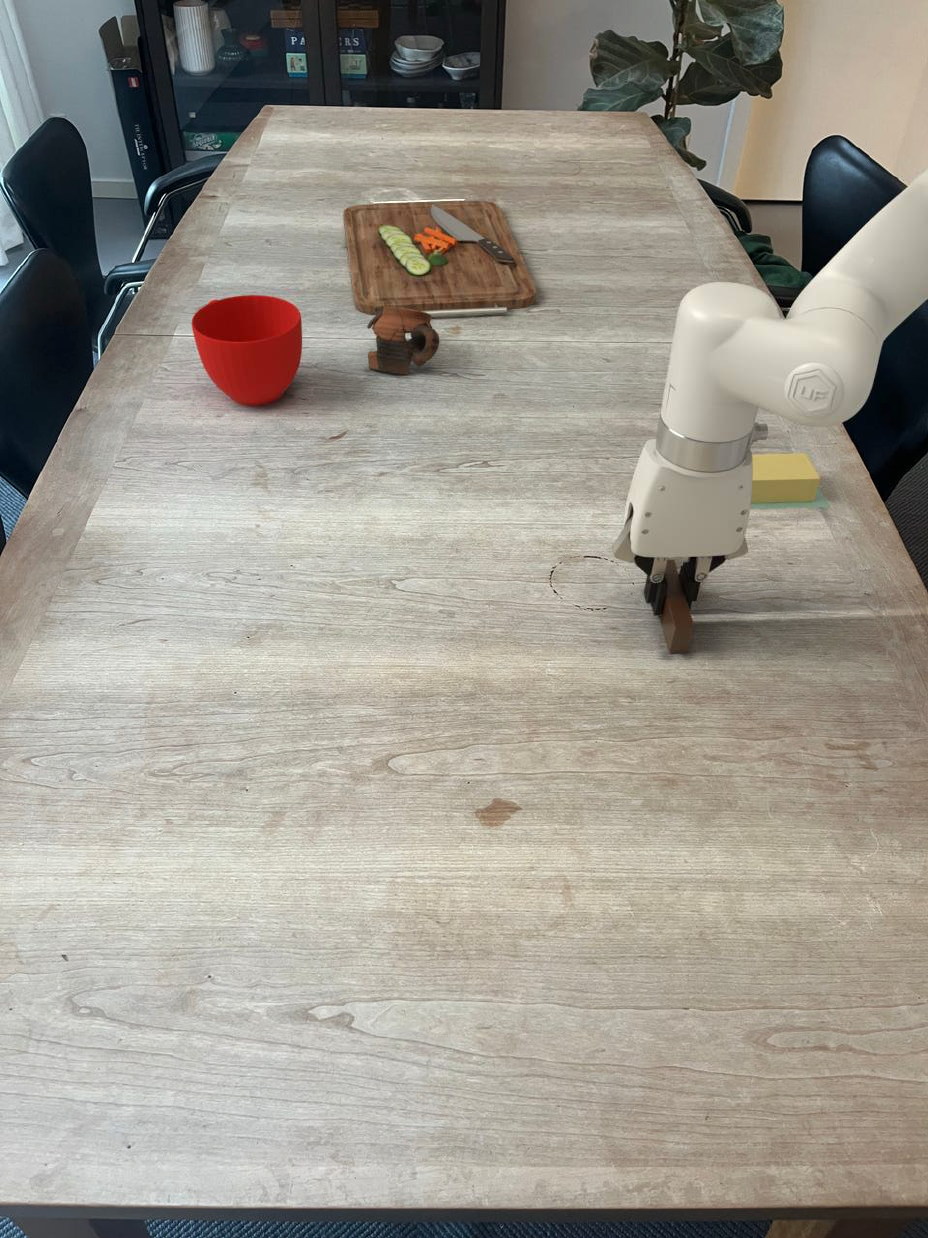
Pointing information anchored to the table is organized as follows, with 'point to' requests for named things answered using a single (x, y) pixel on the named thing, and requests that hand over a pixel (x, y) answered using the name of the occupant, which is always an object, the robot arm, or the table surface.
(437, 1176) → the table surface
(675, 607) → the knife
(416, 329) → the pottery mug
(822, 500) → the butter dish
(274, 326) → the ceramic cup
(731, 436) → the robot arm
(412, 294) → the chopping board
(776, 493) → the butter block
